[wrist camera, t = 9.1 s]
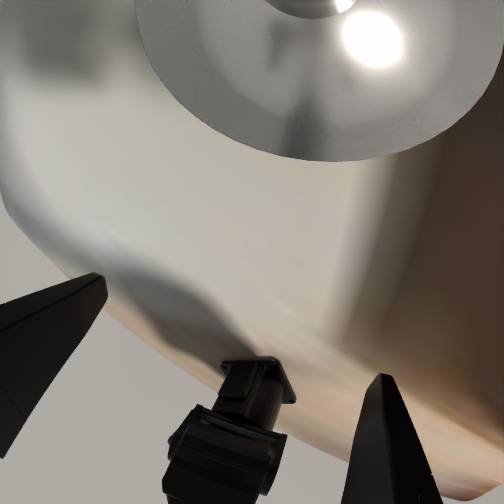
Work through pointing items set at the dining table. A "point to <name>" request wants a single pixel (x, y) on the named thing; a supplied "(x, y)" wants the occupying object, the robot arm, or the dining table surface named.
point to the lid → (325, 69)
